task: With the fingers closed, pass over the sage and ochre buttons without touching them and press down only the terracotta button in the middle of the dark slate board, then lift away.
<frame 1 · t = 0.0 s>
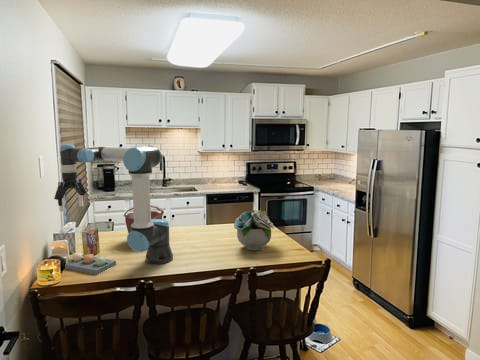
hand: (71, 208, 202), 28 cm above the table, fingers open, 13 cm apart
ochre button: (77, 257, 193), point 4 cm above the table, slide at 0.0 cm
slate board: (89, 266, 190), on the table
flower arrangement: (254, 248, 219), on the table
bucket: (144, 243, 228), on the table
sage button: (100, 261, 187), point 4 cm above the table, slide at 0.0 cm
terracotta button: (88, 259, 190), point 4 cm above the table, slide at 0.0 cm
candy box: (91, 255, 208), on the table
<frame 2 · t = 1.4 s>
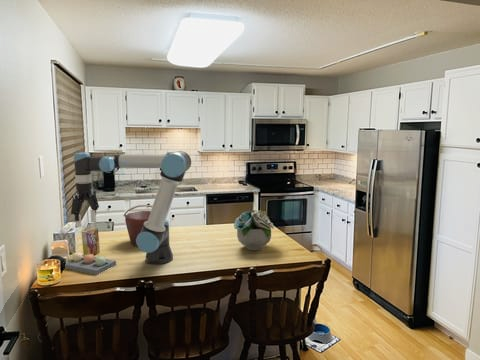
hand: (86, 224, 187), 24 cm above the table, fingers open, 9 cm apart
nothing on the table moved.
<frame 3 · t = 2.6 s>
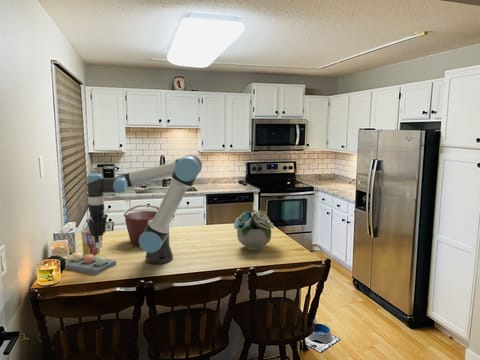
hand: (99, 247, 186), 12 cm above the table, fingers closed
nothing on the table moved.
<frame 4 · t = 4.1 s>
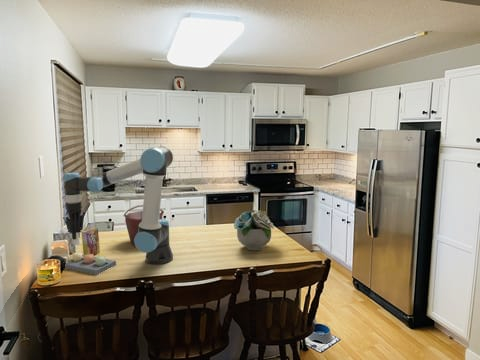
hand: (76, 244, 191), 11 cm above the table, fingers closed
nothing on the table moved.
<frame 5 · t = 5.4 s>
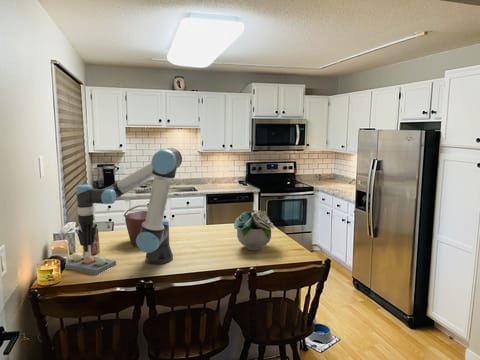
hand: (88, 256, 189), 6 cm above the table, fingers closed
terracotta button: (88, 260, 190), point 3 cm above the table, slide at 0.9 cm, touching gripper
everything else where it was.
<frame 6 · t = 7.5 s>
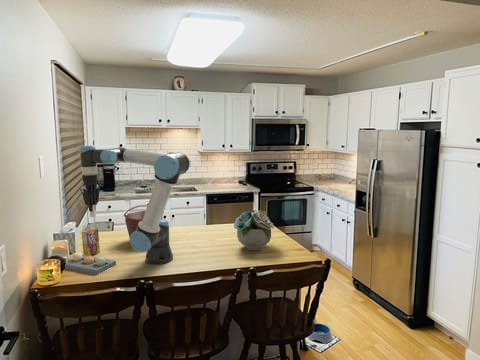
hand: (93, 216, 194), 26 cm above the table, fingers closed
terracotta button: (88, 261, 190), point 3 cm above the table, slide at 1.1 cm
everything else where it was.
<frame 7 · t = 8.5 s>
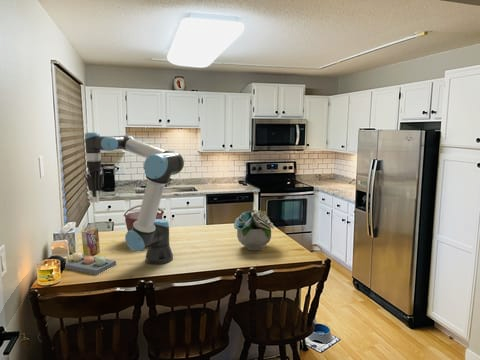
hand: (96, 202, 199), 32 cm above the table, fingers closed
nothing on the table moved.
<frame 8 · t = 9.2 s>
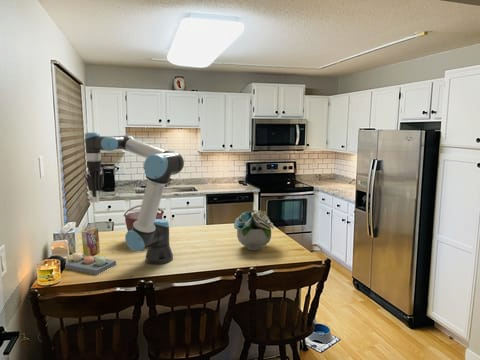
hand: (96, 202, 199), 32 cm above the table, fingers closed
nothing on the table moved.
at the end: terracotta button slide at 1.1 cm; sage button slide at 0.0 cm; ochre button slide at 0.0 cm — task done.
